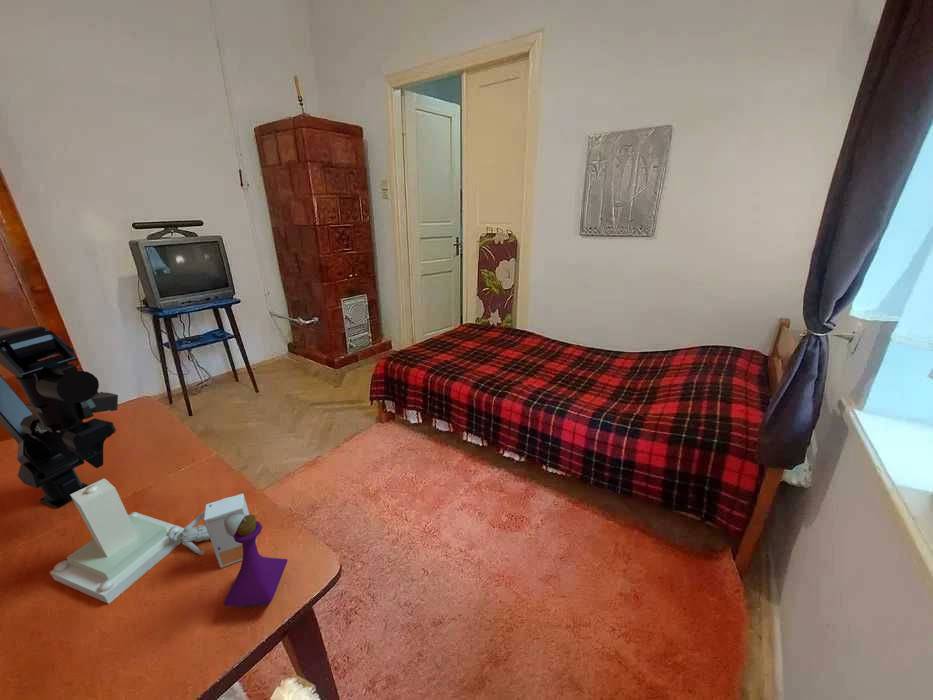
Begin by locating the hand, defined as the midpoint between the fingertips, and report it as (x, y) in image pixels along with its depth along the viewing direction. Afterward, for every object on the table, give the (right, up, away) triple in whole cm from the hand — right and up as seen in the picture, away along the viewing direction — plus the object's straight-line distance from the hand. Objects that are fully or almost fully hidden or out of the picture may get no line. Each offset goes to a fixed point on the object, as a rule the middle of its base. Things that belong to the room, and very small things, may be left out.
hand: (85, 461), depth 76 cm
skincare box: (+34, -16, -5) cm, 38 cm away
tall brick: (+13, -13, -7) cm, 19 cm away
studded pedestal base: (+13, -16, -5) cm, 22 cm away
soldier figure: (+27, -15, -2) cm, 31 cm away
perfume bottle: (+42, -19, -12) cm, 48 cm away
